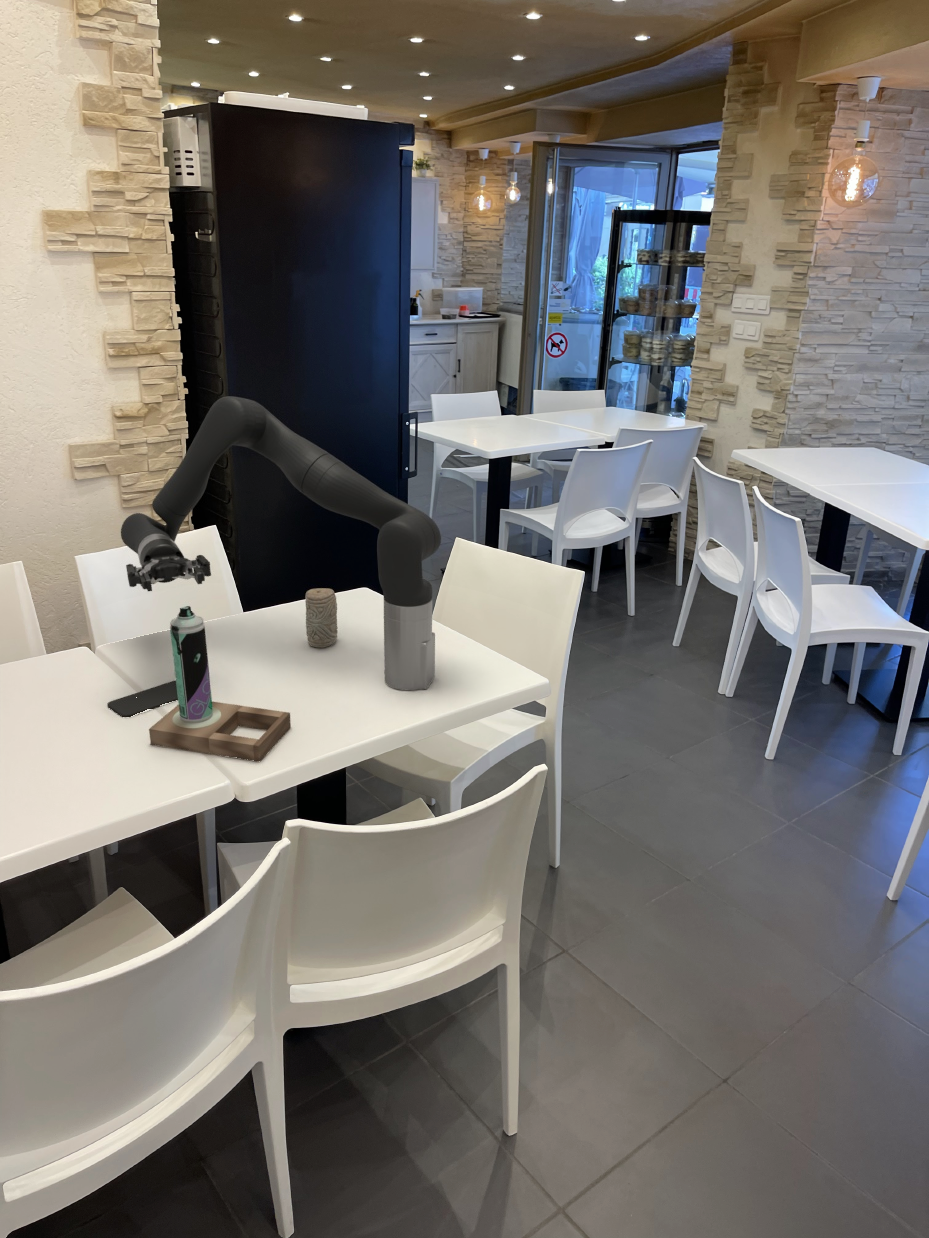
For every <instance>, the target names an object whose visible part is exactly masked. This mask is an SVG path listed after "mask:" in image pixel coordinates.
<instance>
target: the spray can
mask: <svg viewBox="0 0 929 1238" xmlns="http://www.w3.org/2000/svg"><path fill="white" fill-rule="evenodd" d="M169 629H170V630H169V631H170V632H169V633H170V638H171V640H170V641H171V648H172V658H173V666H174V667H173V668H174V675H175V680H176V686H177V695H178V700H177V703H178V704H179V712H180V719H181V720H182V721H183V722H186V723H200V722H204V721H207V720H209V719H210V718H211V717H212V716H213V707H212V701H213V700H212V689H211V679H210V678H211V677H210V667H209V659H208V658H209V657H208V648H207V636H206V627H205V622H204V618H203V617H202V616H199V615H197V614H196V613H195V612H194V611H192V607H191V606H190V605H187V606H183V607H180V608H179V612H178V613H177V615H176V617H175V618H172V619H171V620H170V621H169ZM178 704H177V705H178Z"/></svg>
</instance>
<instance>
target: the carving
mask: <svg viewBox="0 0 929 1238" xmlns="http://www.w3.org/2000/svg"><path fill="white" fill-rule="evenodd" d="M304 598H305V628H306V638H307V642H308V645H310V646H311V647H313V648H319V649H322V648H323V649H324V648H327V647H329V646H331V645H333V644H334V643H335V642H337V641H336V640H337V639H338V616H337V615H338V603H337V596H336V593H335V591H334V590H333V589H332V588H327V587H326V588H322V587H321V588H317V587H316V588H311V589H309V590H307V591H306V593H305V597H304Z"/></svg>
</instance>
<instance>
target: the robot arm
mask: <svg viewBox="0 0 929 1238" xmlns="http://www.w3.org/2000/svg"><path fill="white" fill-rule="evenodd" d="M232 446H234V447H235V446H237V447H242V448H243V447H244V448H248V449H250V450H252V451H254V452H256V453H258V454H260V455H261V456H263V457H265V458H266V459H268V460H270V461H271V462H272V463H274V464H275V465H276V466H277V467H278V468H279V469H280V470H281V472H282V473H283V474H284V476H285V477H286V479H287V480H288V481H289V483H291V485H292V486H293V487H294V488H295V489H297V490H298V491H299V492H300V493H301V494H303V495H304V496H306V497H307V498H308V499H310V500H311V501H312V502H314V503H316V504H317V505H319V506H320V507H322V508H324V509H326V510H328V511H330V512H333V513H336V514H340V515H342V516H346V517H350V518H352V519H356V520H359V521H363V522H365V523H368V524H370V525H371V526H373V527H375V528H377V529H378V530H379V532H378V535H377V541H376V552H377V553H376V554H377V568H378V580H379V581H378V582H379V584H380V587H381V590H382V593H383V644H384V645H383V650H384V652H383V655H384V656H383V657H384V668H383V669H384V670H383V671H384V683H385V684H386V685H387V686H388V687H390V688H392V689H395V690H399V691H401V690H402V691H415V690H427V689H428V688H429V686H430V684H431V683H432V682H433V680H434V678H435V677H436V675H435V674H436V673H435V671H436V668H435V667H436V632H434V631H433V586H432V584H431V583H430V581H429V580H427V579H424V578H423V561H424V560H426V559H428V558H429V557H432V556H433V555H434V554H436V552H437V551H438V550H439V548H440V547H441V544H442V535H441V531H440V528H439V527H438V524H437V523H436V522H435V521H434V519H432V517H430V516H429V515H428V514H427V513H425V512H423V511H422V510H419V509H418V508H416V507H414V506H412V505H410V504H408V503H406V502H405V501H403V500H401V499H399V498H397V497H395V496H394V495H391V494H389V492H386V491H385V490H383V489H382V488H380V487H379V486H377V484H375V483H373V482H371V481H370V480H369V479H367V478H366V477H365V476H363V475H361V474H360V473H359V472H357V471H355V470H353V468H351V467H350V466H349V465H347V464H345V463H344V462H343V461H341V460H339V459H338V458H336V457H335V456H334V455H333V454H331V453H329V452H328V451H326V450H325V449H323V448H321V447H319V446H318V445H316V444H315V443H313V442H311V441H310V440H308V439H306V438H305V437H303V436H300V435H299V434H297V433H295V431H293V430H291V429H290V428H289V427H287V425H285V424H284V423H283V422H281V421H280V420H279V419H278V418H277V417H276V416H275V415H274V414H272V413H271V412H270V411H269V410H268V409H266V408H265V407H264V406H263V405H262V404H260V403H259V402H258V401H255V400H253V399H249V398H244V397H238V396H229V395H227V396H223V397H221V398H219V399H217V400H216V401H215V402H213V404H212V406H211V407H210V409H209V410H208V412H207V414H206V415H205V418H204V419H203V421H202V423H201V425H200V427H199V429H198V431H197V433H196V434H195V436H194V438H193V440H192V443H191V444H190V446H189V448H188V450H187V451H186V453H185V455H184V457H183V458H182V460H181V462H180V463H179V464H178V466H177V468H176V469H175V471H174V472H173V473H172V475H171V476H170V478H169V479H168V480H167V481H166V482H165V484H164V485H163V487H161V489H160V491H158V493H157V494H156V495H155V497H154V499H153V501H152V503H151V506H152V507H151V508H152V509H153V511H154V513H155V514H156V515H157V516H158V517H159V518H160V519H161V520H162V521H163V522H164V523H165V524H163V523H161V522H159V521H158V520H155V519H153V518H152V517H151V516H148V515H147V514H144V513H143V512H142V513H140V512H136V513H133V514H131V515H129V516H128V517H126V518H125V520H124V521H123V522H122V525H121V529H120V538H121V540H122V542H123V543H124V545H125V546H127V547H128V548H129V549H130V550H132V551H133V552H134V553H135V554H136V555H137V557H138V561H139V565H140V567H138V566H137V565H134V564H132V563H128V564H126V565H125V569H126V574H127V581H128V585H129V588H134V587H137V586H138V585H140V587H141V588H142V590H147V592H153V587H152V585H155V584H157V583H163V584H164V583H170V582H173V581H175V580H177V579H184V580H187V581H189V580H190V579H194V580H195V582H196V583H197V585H202V584H203V582H205V580H206V577H211V576H212V571H211V563H210V561H209V560H208V558H206V557H205V555H202V554H198V555H196V557H195V559H192V560H191V559H189V558H186V557H185V556H184V554H183V552H182V550H181V549H180V548H179V546H178V545H177V543H176V538H177V536H178V534H179V531H180V528H181V526H182V525H183V522H184V521H185V519H186V518H187V517H188V516H189V514H190V513H191V511H192V510H193V509H194V508H195V506H196V505H197V504H198V503H199V501H200V500H201V499H202V496H203V495H204V493H205V491H206V489H207V486H208V481H209V477H210V474H211V472H212V470H213V468H214V465H215V464H216V463H217V461H218V460H219V458H220V457H221V456H222V455H223V454H224V453H226V451H227V450H228V449H229V448H231V447H232Z"/></svg>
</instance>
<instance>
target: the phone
mask: <svg viewBox="0 0 929 1238" xmlns="http://www.w3.org/2000/svg"><path fill="white" fill-rule="evenodd" d="M136 697H137V698H136ZM176 700H177V701H178V695H177V686H176V679H175V680H172V681H169V682H165V683H162V684H160V685H156V686H153V687H149V688H147V689H145V690H141V691H138V692H135V693H131V694H129V695H126V696H123V697H119V698H116V699H113V700H110V701H109V702H107V708H108V709H109V708H110V709H109V710H111V709H112V710H113V711H114V712H113V711H112V710H111V711H112V712H113V713H115V714H116V713H117V714H116V715H118V716H119V715H120V716H119V717H121V718H123V717H129V718H132V717H131V716H133V715H135V714H137V713H140V712H143V711H145V710H147V709H153V710H155V709H158V708H161V707H160V705H162V704H165V703H169V702H172V701H175V702H177V701H176ZM172 703H173V702H172ZM169 704H170V703H169ZM135 716H136V715H135ZM133 717H134V716H133Z"/></svg>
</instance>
